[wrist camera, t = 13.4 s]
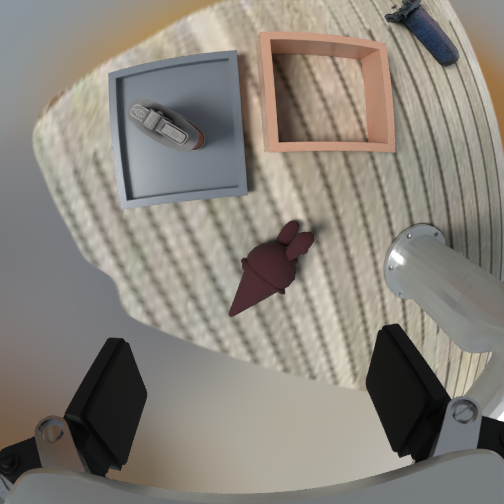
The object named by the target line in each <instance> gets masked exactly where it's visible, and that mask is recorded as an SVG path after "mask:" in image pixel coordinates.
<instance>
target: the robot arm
mask: <svg viewBox="0 0 504 504" xmlns="http://www.w3.org/2000/svg"><path fill="white" fill-rule="evenodd" d="M384 278H385V282H386V284H387V287H388V288H389V289H390V291H391V292H392V293H393V294H394V295H396V296H397V297H399V298H403V299H413V300H414V301H415V302H416V303H417V304H418V305H419V306H420V307H421V308H422V309H423V310H424V311H425V312H426V313H427V314H428V315H429V316H430V317H431V318H432V319H433V321H434V322H435V323H436V324H437V325H438V326H439V327H440V328H441V329H442V330H443V331H444V332H445V333H446V334H447V336H448V337H449V338H450V339H451V340H452V341H453V342H454V343H455V344H456V345H457V346H458V347H459V348H460V349H462V350H463V351H466V352H469V353H485V352H491V351H492V356H491V358H490V360H489V362H488V363H487V365H486V366H485V369H484V370H483V372H482V373H481V374H480V376H479V377H478V378H477V380H476V381H475V382H474V384H473V385H472V386H471V388H470V389H469V390H468V391H467V393H466V394H465V395H464V396H459V397H456V398H454V399H452V400H451V398H450V396H449V395H448V393H447V392H446V390H445V389H444V387H443V386H442V384H441V383H440V381H439V380H438V378H437V377H436V375H435V374H434V372H433V371H432V369H431V368H430V366H429V365H428V364H427V362H426V361H425V359H424V358H423V357H422V355H421V354H420V352H419V351H418V350H417V348H416V347H415V345H414V344H413V343H412V341H411V340H410V339H409V337H408V336H407V334H406V333H405V332H404V330H403V329H402V328H401V326H400V325H399V324H391V325H385V326H383V327H382V330H379V331H378V334H377V339H376V343H375V347H374V351H373V355H372V359H371V363H370V367H369V370H368V374H367V378H366V388H367V390H368V392H369V395H370V397H371V399H372V401H373V404H374V406H375V409H376V411H377V413H378V416H379V418H380V421H381V423H382V426H383V428H384V430H385V433H386V435H387V438H388V440H389V443H390V445H391V447H392V450H393V451H394V452H397V453H398V456H399V458H401V457H403V456H407V455H410V454H411V457H412V459H413V461H412V463H411V465H409V466H406V467H403V468H400V469H397V470H393V471H389V472H386V473H382V474H379V475H375V476H371V477H367V478H364V479H359V480H355V481H351V482H346V483H341V484H336V485H331V486H325V487H319V488H312V489H304V490H297V491H287V492H274V493H255V494H217V493H199V492H186V491H178V490H169V489H162V488H155V487H149V486H143V485H138V484H132V483H128V482H123V481H118V480H114V479H110V478H109V476H108V474H107V473H108V469H109V468H111V469H115V470H119V471H121V468H122V465H125V464H126V463H127V460H128V456H129V453H130V450H131V446H132V443H133V440H134V436H135V433H136V430H137V427H138V424H139V421H140V417H141V414H142V411H143V408H144V405H145V402H146V399H147V391H146V388H145V385H144V383H143V381H142V378H141V375H140V373H139V370H138V367H137V365H136V362H135V359H134V356H133V354H132V351H131V348H130V345H129V343H128V342H125V340H124V339H123V338H108V339H107V341H106V342H105V344H104V346H103V347H102V349H101V351H100V352H99V354H98V356H97V357H96V359H95V361H94V362H93V364H92V366H91V367H90V369H89V371H88V372H87V374H86V376H85V378H84V379H83V381H82V383H81V385H80V386H79V388H78V390H77V392H76V393H75V395H74V397H73V399H72V401H71V403H70V404H69V406H68V408H67V410H66V412H65V415H64V417H63V418H62V417H60V416H56V415H51V416H47V417H45V418H43V419H41V420H40V421H39V422H38V424H37V425H36V427H35V431H34V432H35V436H34V437H32V438H30V439H27V440H24V441H22V442H19V443H16V444H14V445H11V446H8V447H6V448H4V449H2V450H1V451H0V504H504V283H503V282H502V281H500V280H499V279H498V278H496V277H495V276H493V275H492V274H490V273H489V272H487V271H486V270H484V269H483V268H481V267H480V266H478V265H477V264H475V263H474V262H472V261H470V260H469V259H467V258H466V257H464V256H463V253H462V252H456V251H454V250H453V249H451V248H450V247H448V246H447V245H446V241H445V239H444V237H443V235H442V234H441V232H440V231H439V230H437V229H436V228H435V227H433V226H430V225H427V224H417V225H414V226H411V227H409V228H407V229H406V230H404V231H403V232H402V233H401V234H400V235H399V236H398V237H397V238H396V239H395V240H394V242H393V243H392V245H391V246H390V249H389V251H388V253H387V256H386V259H385V263H384Z"/></svg>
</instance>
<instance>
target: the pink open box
mask: <svg viewBox="0 0 504 504" xmlns="http://www.w3.org/2000/svg"><path fill="white" fill-rule="evenodd" d="M256 51H257V62H258V74H259V86H260V99H261V112H262V125H263V139H264V152H288V151H376V152H395V127H394V111H393V98H392V88H391V79H390V71H389V64H388V57H387V50H386V44H385V43H381V42H376V41H370V40H365V39H359V38H352V37H345V36H337V35H328V34H316V33H301V32H260V33H259V38H258V42H257V46H256ZM271 54H308V55H324V56H336V57H345V58H354V59H361V61H362V69H363V78H364V87H365V98H366V110H367V126H368V143H365V142H281V143H279V142H278V127H277V113H276V100H275V88H274V76H273V65H272V55H271Z"/></svg>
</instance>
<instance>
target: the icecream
mask: <svg viewBox="0 0 504 504" xmlns="http://www.w3.org/2000/svg"><path fill="white" fill-rule="evenodd" d="M298 230H299V223H298V222H296V221H290V222H288V223H287V224H286V225H285V226H284V227H283V228H282V230H281V232H280V234H279V236H278V238H277V242H276V243H273V242H270V243H264V244H261V245H259V246H257V247H255V248H254V249H253V250H252V251H251V252H250V253H249V254H248V257H247V258H243V259H242V260H241V262H242V268H243V270H244V273H243V276H242V279H241V281H240V284H239V287H238V290H237V293H236V295H235V298H234V301H233V303H232V306H231V309H230V312H229V316H230V317H233V316H235V315H237V314H239V313H240V312H242V311H244V310H246V309H248V308H249V307H251V306H253V305H255V304H257V303H258V302H260V301H262V300H264V299H266V298H267V297H269V296H271V295H273V294H274V293H276V292H279V293H280V294H285V288H287V287H288V286H289V285H290V284H291V282H292V281H293V280H294V279H295V273H296V263H297V257H298V256H299V255H300V254H306V253H307V252H308V249H309V248H310V246H311V245H312V244H313V242H314V235H313V233H311V232H301V233H298V234H297V235H296V233H297V231H298ZM295 235H296V236H295ZM293 238H294V239H293ZM292 240H293V241H292ZM291 241H292V242H291ZM290 242H291V243H290ZM289 243H290V244H289ZM288 245H289V246H288ZM287 246H288V247H287ZM286 247H287V248H286Z"/></svg>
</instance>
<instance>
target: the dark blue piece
mask: <svg viewBox="0 0 504 504" xmlns="http://www.w3.org/2000/svg"><path fill="white" fill-rule="evenodd" d="M420 2H421V0H402V3H403V4H404V5H403V6H402V8H399V10H398V11H397V12H395V13H393V14H387V15H385V16H384V17H385V19H387V18H388V19H387V20H386V21H387V22H388V23H389V21H395V20H397V21H400V20H401V19H404V20H403V21H404V23H405V24H406V25H407V26H408V27H409V28H410V29H411V31H412V32H413V33H414V34H415V35H416V36H417V37H418V38H419V39H420V40H421V42H422V43H423V44H424V45H425V46H426V47H427V49H428V50H429V51H430V52H431V53H432V55H433V56H434V57H435V58H436V60H437V61H438V62H439V63H441V64H443V65H444V66H448V65H451V64H454V63H455V62H456V61H458V58H459V52H458V50H457V48H456V47H455V45H454V44H453V43H452V41H451V40H450V39H449V38H448V36H447V35H446V34H445V33H444V31H443V30H442V29H441V28H440V27H439V25H438V24H437V23H436V22H435V21H434V20H433V19H432V17H431V16H430V15H429V14H428V13H427V12H426V11H425V10H424V9H423V8H422V6H420V5H419V4H420ZM395 6H396V5H395ZM395 6H393V7H392V8H393V9H394V8H395ZM389 15H391V16H389Z"/></svg>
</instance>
